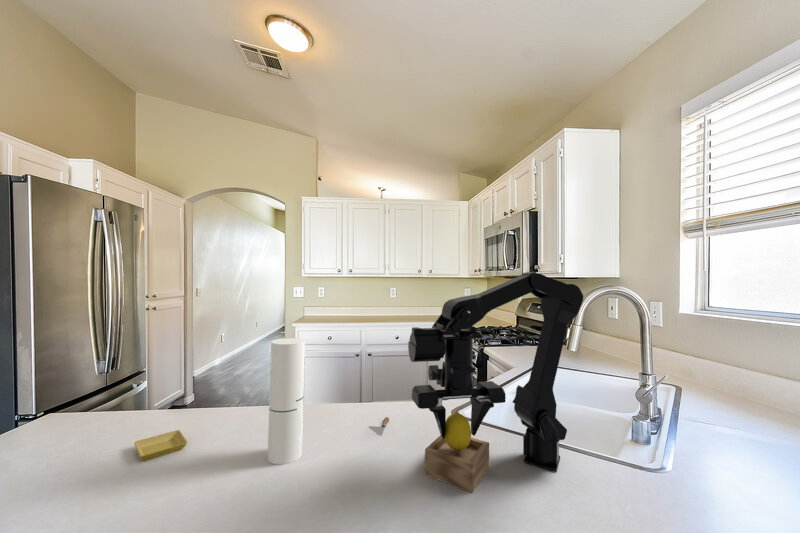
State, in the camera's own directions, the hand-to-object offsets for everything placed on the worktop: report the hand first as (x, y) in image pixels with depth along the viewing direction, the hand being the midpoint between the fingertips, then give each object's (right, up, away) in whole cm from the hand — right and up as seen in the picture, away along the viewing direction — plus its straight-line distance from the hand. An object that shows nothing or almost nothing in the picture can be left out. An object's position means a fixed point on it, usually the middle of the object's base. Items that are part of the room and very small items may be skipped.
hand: (458, 436), depth 67 cm
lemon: (0, -4, 0) cm, 4 cm away
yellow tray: (-66, -7, +6) cm, 67 cm away
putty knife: (-18, -8, +18) cm, 27 cm away
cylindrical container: (-37, -7, +4) cm, 38 cm away
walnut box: (0, -7, 0) cm, 7 cm away
